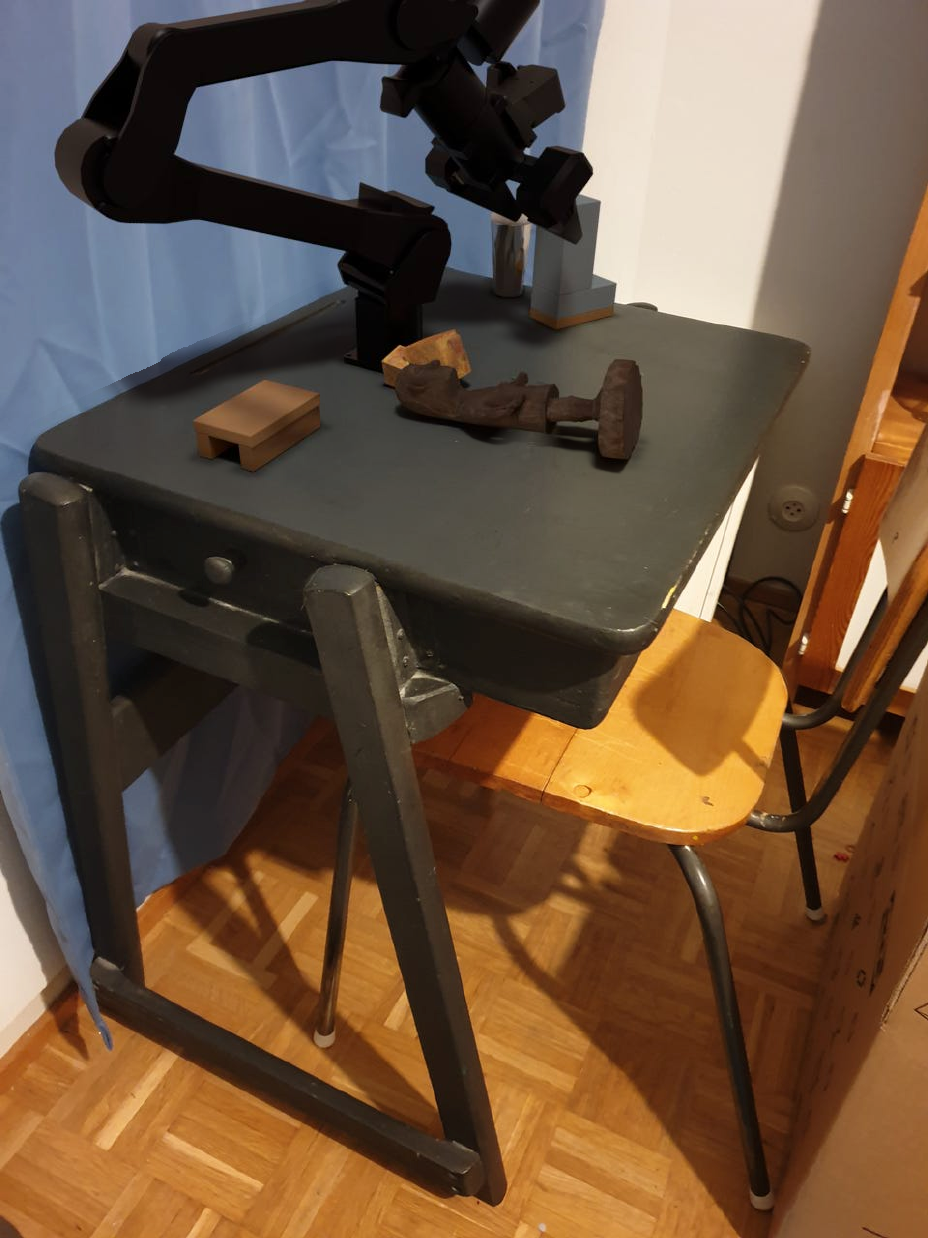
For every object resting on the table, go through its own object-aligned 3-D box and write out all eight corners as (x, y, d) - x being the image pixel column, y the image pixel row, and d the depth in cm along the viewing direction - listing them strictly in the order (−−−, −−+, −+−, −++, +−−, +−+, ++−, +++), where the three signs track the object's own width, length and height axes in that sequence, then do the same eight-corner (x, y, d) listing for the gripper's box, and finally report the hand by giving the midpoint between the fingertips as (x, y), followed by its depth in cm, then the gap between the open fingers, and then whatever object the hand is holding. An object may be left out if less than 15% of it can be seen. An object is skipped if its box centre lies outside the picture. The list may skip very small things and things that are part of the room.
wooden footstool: (268, 413, 78) (264, 379, 76) (322, 427, 76) (319, 392, 74) (198, 455, 72) (192, 419, 70) (255, 472, 70) (250, 436, 68)
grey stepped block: (556, 329, 96) (567, 205, 89) (529, 317, 99) (538, 196, 91) (613, 315, 100) (628, 196, 92) (585, 304, 103) (598, 187, 95)
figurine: (627, 353, 67) (376, 352, 74) (620, 459, 68) (374, 448, 75) (647, 364, 75) (420, 362, 82) (640, 459, 77) (417, 449, 83)
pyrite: (412, 386, 86) (398, 342, 85) (472, 373, 83) (459, 326, 81) (384, 402, 83) (369, 356, 81) (446, 389, 79) (431, 340, 77)
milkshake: (535, 300, 103) (543, 204, 97) (487, 298, 103) (491, 202, 97) (534, 287, 107) (541, 193, 101) (487, 285, 107) (491, 192, 101)
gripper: (588, 41, 73) (666, 178, 85) (452, 19, 85) (536, 142, 97) (504, 161, 74) (592, 280, 86) (380, 123, 86) (473, 232, 98)
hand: (547, 228), depth 91 cm, fingers open, 9 cm apart
